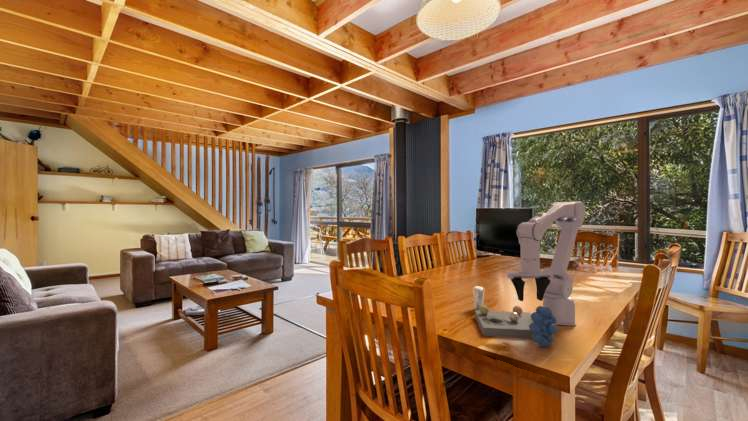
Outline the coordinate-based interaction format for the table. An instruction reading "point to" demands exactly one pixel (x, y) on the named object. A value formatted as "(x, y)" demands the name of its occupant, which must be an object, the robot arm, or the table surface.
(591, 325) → the table surface
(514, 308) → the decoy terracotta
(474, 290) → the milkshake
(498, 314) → the board
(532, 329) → the grapes
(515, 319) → the steel ball
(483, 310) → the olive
